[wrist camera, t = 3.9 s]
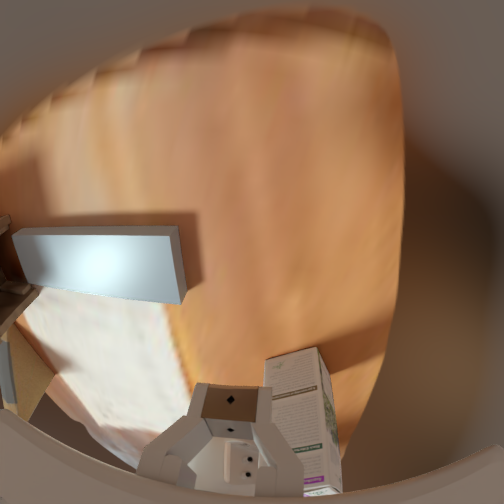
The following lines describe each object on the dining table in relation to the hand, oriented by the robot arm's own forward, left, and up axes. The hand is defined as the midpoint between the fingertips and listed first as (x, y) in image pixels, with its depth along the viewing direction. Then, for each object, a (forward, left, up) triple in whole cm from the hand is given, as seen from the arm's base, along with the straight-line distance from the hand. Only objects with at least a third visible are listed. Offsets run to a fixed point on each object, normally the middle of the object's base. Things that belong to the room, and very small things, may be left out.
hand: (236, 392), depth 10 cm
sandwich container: (+29, +39, -12) cm, 50 cm away
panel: (+14, +8, -12) cm, 20 cm away
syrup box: (-10, +10, -12) cm, 19 cm away
